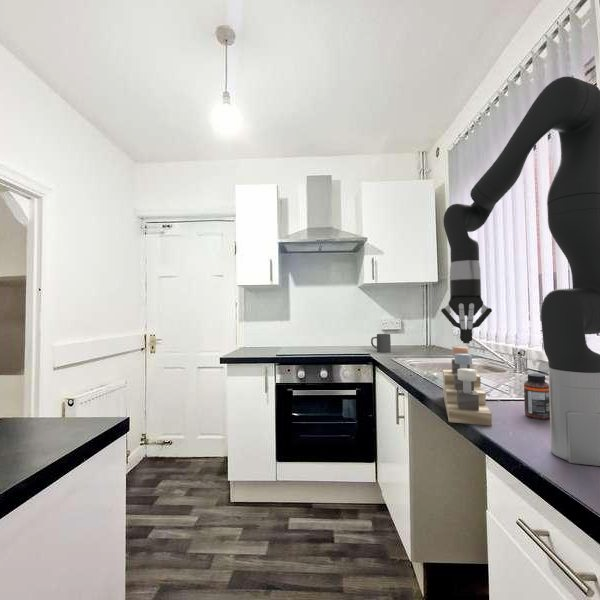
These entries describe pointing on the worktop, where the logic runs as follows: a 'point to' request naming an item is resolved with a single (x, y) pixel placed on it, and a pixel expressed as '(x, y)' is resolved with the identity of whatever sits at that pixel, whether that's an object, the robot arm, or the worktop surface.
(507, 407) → the worktop surface
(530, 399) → the supplement bottle
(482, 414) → the wooden block staircase
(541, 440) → the worktop surface
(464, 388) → the white mushroom-shaped block
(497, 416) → the worktop surface
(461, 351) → the pink block
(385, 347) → the mug
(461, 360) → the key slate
